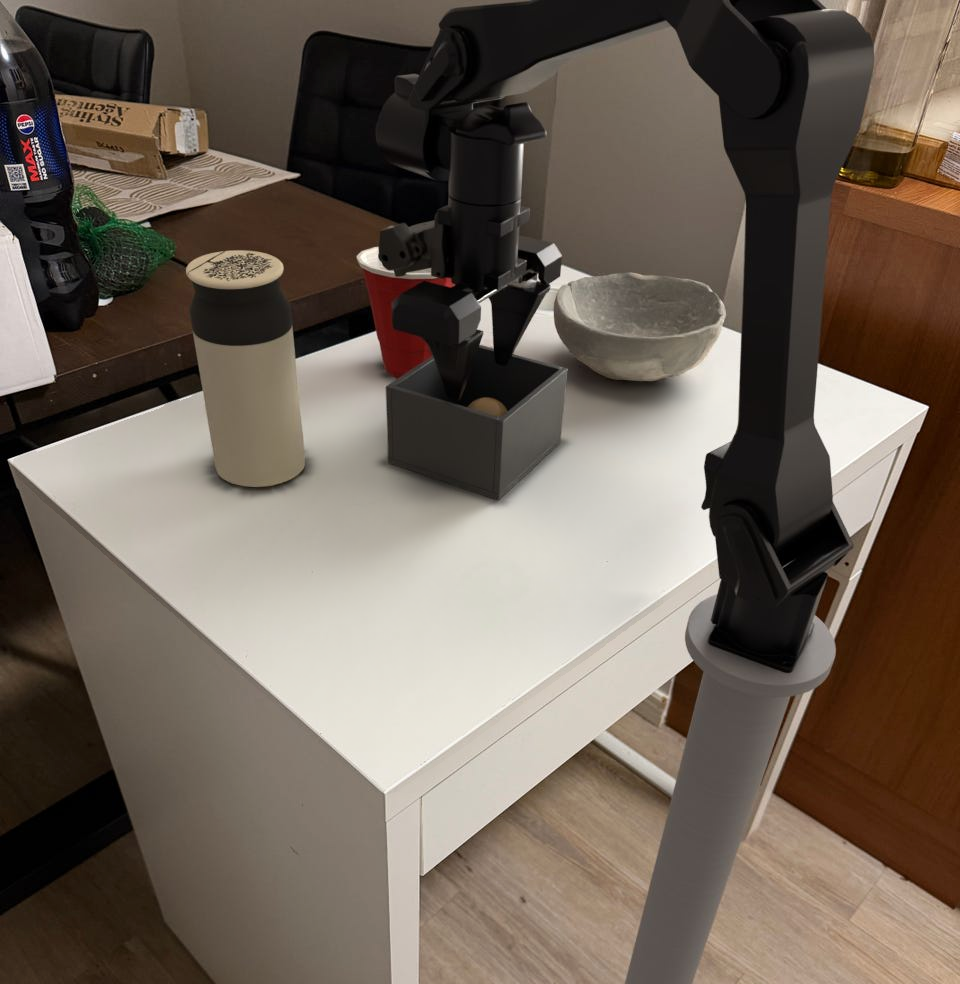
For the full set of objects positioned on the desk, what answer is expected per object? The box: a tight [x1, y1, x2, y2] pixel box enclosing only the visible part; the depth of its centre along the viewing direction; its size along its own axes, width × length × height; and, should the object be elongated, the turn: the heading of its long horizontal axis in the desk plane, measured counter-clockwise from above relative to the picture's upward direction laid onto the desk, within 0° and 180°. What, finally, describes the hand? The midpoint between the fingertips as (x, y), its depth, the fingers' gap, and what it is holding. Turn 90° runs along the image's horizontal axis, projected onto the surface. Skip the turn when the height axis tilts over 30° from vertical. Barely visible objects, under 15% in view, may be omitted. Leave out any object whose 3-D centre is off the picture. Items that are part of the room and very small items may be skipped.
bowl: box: [553, 272, 727, 382], centre depth 102 cm, size 18×18×8 cm
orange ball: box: [467, 397, 508, 417], centre depth 88 cm, size 4×4×4 cm
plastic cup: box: [356, 246, 455, 379], centre depth 99 cm, size 11×11×12 cm
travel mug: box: [185, 249, 306, 488], centre depth 80 cm, size 8×8×18 cm
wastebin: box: [385, 344, 569, 501], centre depth 87 cm, size 12×12×8 cm
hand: (478, 381), depth 85 cm, fingers open, 8 cm apart
